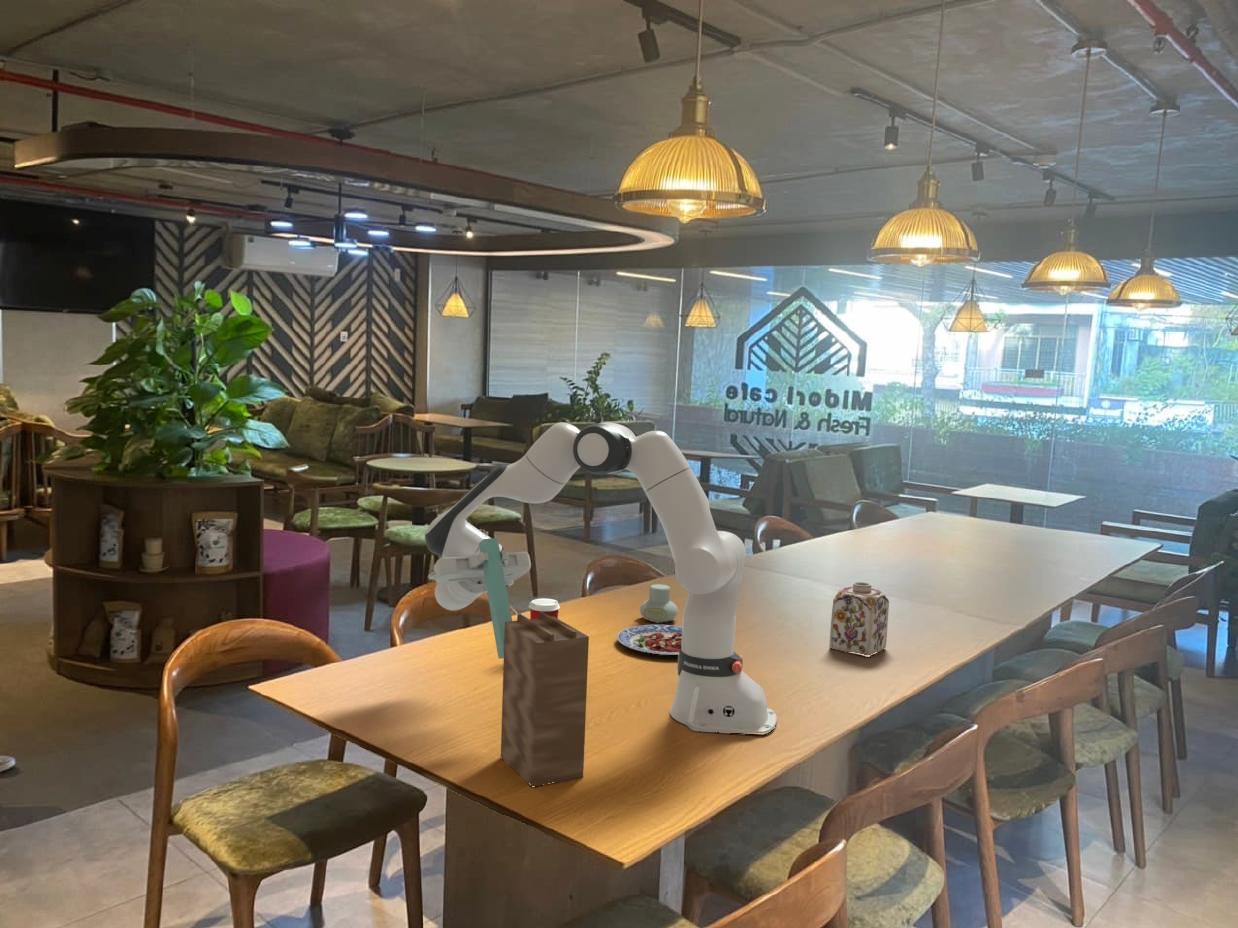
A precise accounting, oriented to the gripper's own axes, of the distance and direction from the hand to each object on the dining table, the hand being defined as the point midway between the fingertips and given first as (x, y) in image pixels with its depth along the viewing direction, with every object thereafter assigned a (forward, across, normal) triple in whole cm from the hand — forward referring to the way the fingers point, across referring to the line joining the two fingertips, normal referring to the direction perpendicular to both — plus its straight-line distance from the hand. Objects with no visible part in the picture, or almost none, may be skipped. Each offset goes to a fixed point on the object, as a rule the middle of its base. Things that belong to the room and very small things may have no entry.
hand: (495, 555), depth 195 cm
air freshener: (-60, +73, +5) cm, 95 cm away
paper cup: (-46, +28, +14) cm, 55 cm away
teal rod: (-4, 0, +8) cm, 9 cm away
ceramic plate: (-42, +62, +16) cm, 76 cm away
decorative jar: (-22, +108, +27) cm, 114 cm away
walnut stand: (+5, -1, +42) cm, 43 cm away
